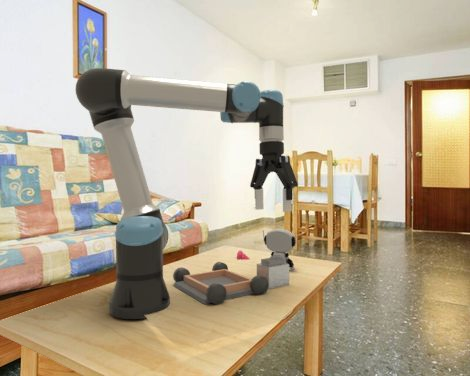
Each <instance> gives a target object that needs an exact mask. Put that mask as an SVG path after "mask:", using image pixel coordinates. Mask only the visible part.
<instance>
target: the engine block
mask: <svg viewBox="0 0 470 376" xmlns="http://www.w3.org/2000/svg"><path fill="white" fill-rule="evenodd" d="M257 275H260V276H263V277H265V278H266V279H267V280H268V289H267V290H272V289H277V288H282V287H285V286H290V267H289V264H287V263H284V259H282V258H278V257H273V258H270V257H266V258H261V259H260V263H256V276H257Z"/></svg>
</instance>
